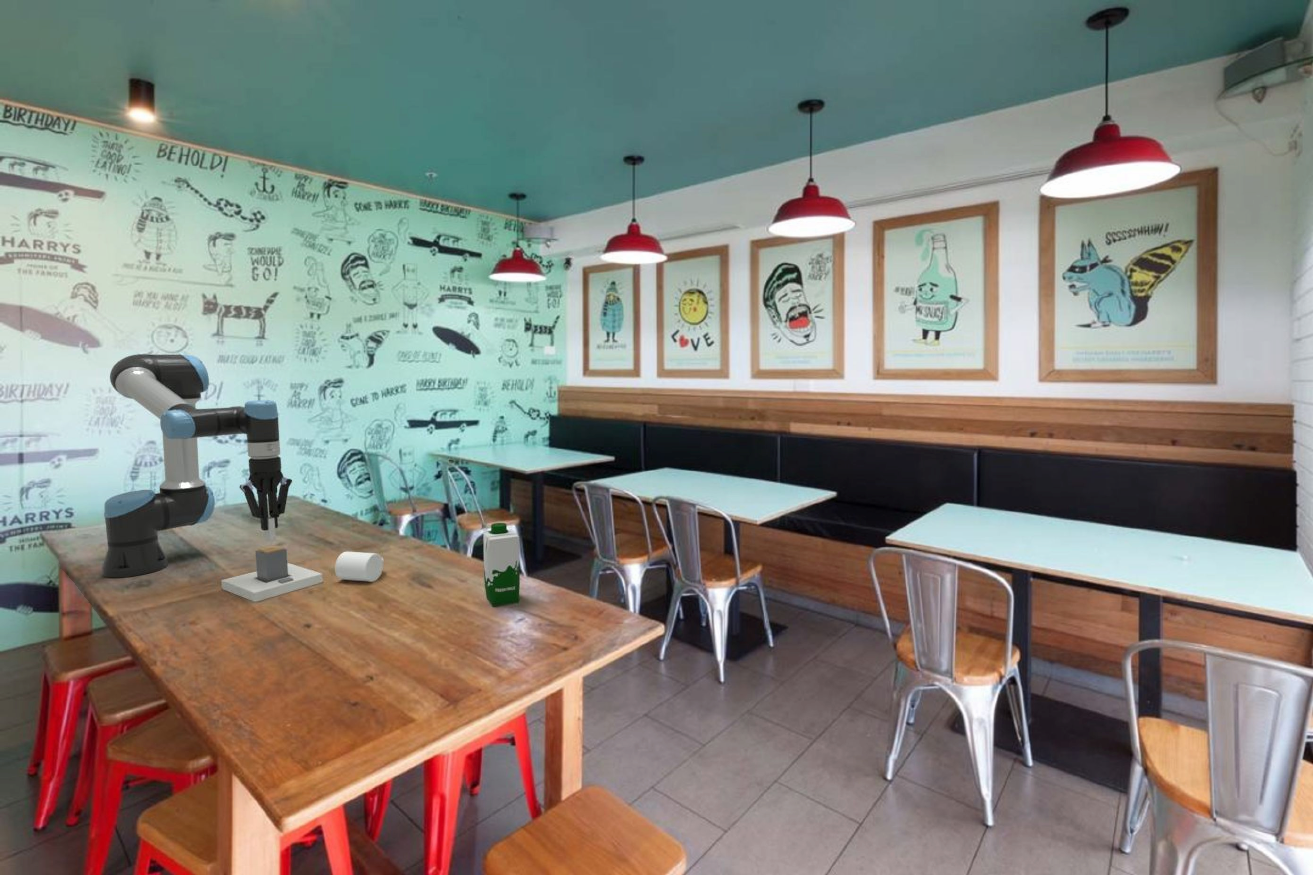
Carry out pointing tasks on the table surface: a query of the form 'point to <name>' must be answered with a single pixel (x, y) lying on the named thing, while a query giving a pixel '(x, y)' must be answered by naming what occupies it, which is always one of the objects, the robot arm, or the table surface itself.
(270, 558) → the plug
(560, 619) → the table surface
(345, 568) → the mug
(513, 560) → the milk carton
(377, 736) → the table surface
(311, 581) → the socket plate
